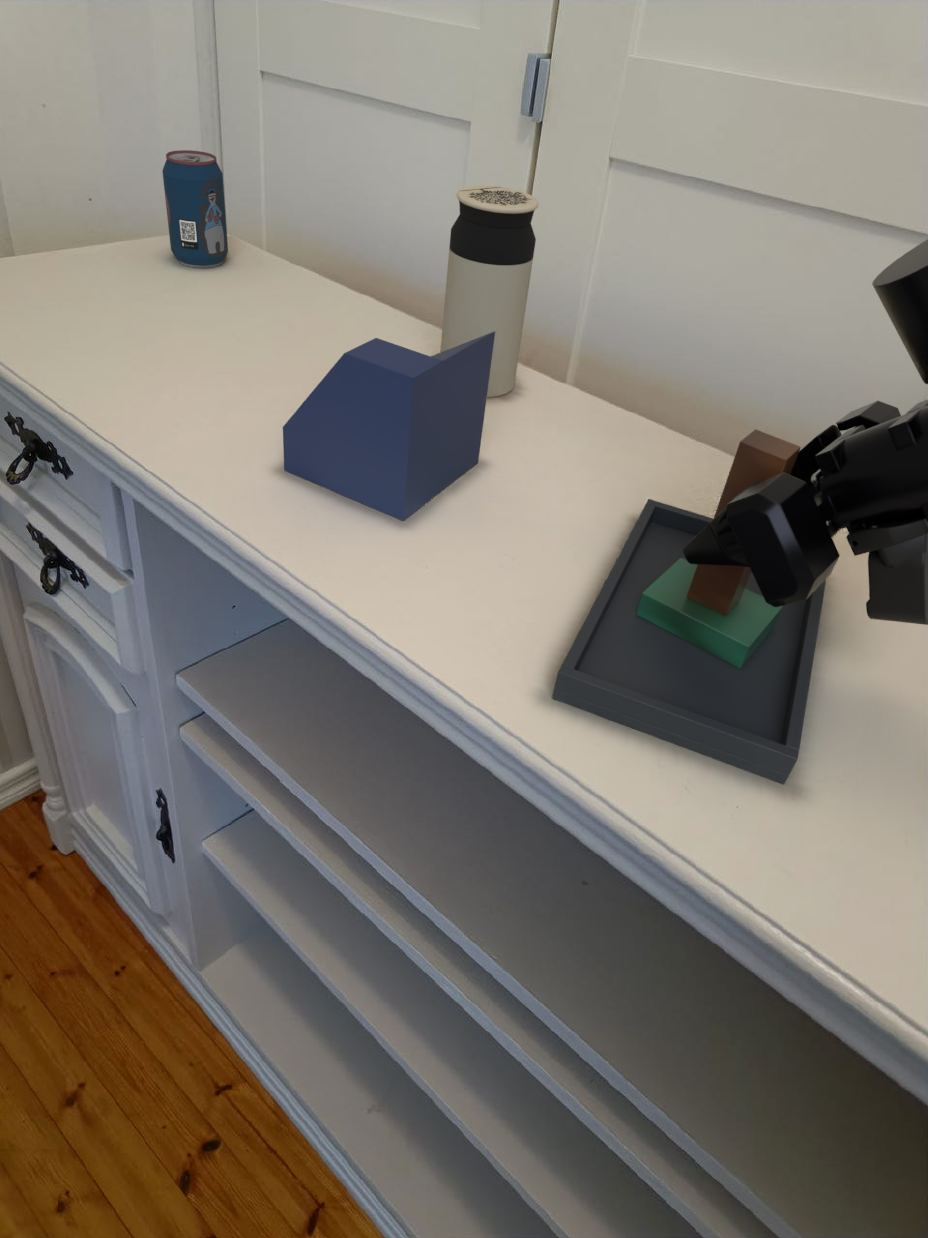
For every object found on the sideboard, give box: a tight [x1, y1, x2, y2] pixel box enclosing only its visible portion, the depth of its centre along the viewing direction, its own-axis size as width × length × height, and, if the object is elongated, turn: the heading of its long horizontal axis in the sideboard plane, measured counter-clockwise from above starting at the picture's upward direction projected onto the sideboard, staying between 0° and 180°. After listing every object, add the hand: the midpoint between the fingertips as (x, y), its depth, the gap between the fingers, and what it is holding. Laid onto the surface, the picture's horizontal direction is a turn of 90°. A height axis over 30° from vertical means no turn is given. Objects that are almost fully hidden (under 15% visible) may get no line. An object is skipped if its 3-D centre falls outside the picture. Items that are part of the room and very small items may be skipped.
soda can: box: [162, 149, 229, 269], centre depth 104 cm, size 7×7×12 cm
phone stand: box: [282, 331, 495, 522], centre depth 70 cm, size 12×12×12 cm
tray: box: [551, 498, 827, 785], centre depth 60 cm, size 24×15×2 cm, turn 157°
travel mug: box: [439, 185, 539, 398], centre depth 83 cm, size 8×8×18 cm
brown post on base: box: [636, 429, 802, 668], centre depth 56 cm, size 8×6×14 cm
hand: (714, 534), depth 56 cm, fingers open, 7 cm apart
